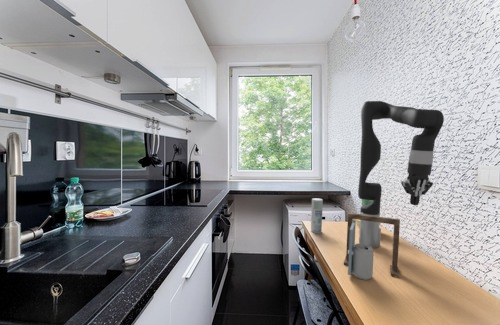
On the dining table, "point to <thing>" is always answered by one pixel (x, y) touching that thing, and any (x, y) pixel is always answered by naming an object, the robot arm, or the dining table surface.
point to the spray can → (316, 215)
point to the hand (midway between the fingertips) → (414, 204)
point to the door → (351, 246)
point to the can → (362, 261)
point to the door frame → (395, 222)
